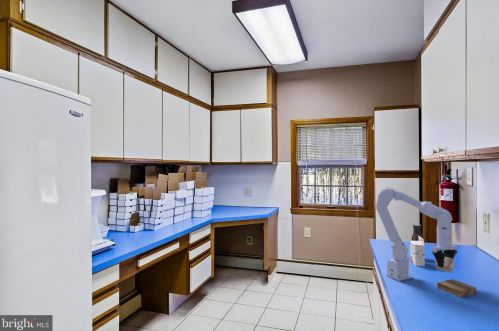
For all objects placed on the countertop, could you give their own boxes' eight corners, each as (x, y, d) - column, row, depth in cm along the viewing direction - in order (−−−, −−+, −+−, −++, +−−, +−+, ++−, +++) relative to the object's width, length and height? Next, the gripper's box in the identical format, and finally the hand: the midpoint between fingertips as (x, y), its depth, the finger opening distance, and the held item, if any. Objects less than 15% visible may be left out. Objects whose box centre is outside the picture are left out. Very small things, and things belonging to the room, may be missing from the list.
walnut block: (460, 298, 120) (460, 291, 120) (437, 289, 130) (437, 282, 130) (476, 294, 124) (476, 287, 124) (452, 285, 133) (452, 279, 133)
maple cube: (446, 271, 131) (446, 260, 131) (435, 268, 135) (435, 257, 135) (453, 270, 132) (453, 259, 132) (442, 266, 137) (442, 256, 137)
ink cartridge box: (409, 260, 166) (409, 235, 166) (419, 261, 165) (419, 235, 165) (415, 266, 158) (414, 239, 158) (425, 266, 157) (424, 239, 157)
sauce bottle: (420, 256, 173) (419, 223, 173) (426, 260, 167) (426, 225, 167) (409, 256, 173) (408, 223, 173) (415, 260, 167) (415, 225, 166)
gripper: (442, 240, 127) (442, 271, 127) (463, 236, 133) (464, 266, 133) (426, 236, 134) (427, 266, 134) (448, 233, 139) (448, 261, 139)
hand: (444, 265), depth 134 cm, fingers closed on maple cube, 5 cm apart
